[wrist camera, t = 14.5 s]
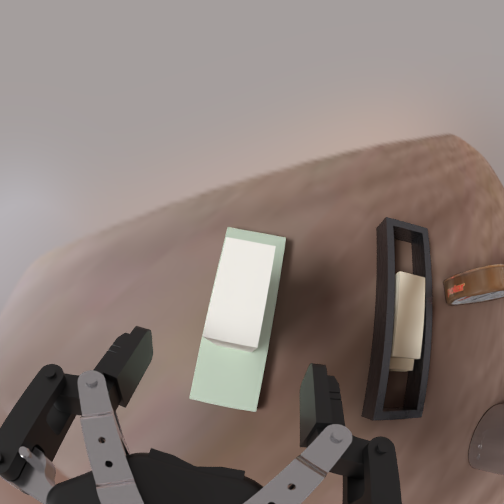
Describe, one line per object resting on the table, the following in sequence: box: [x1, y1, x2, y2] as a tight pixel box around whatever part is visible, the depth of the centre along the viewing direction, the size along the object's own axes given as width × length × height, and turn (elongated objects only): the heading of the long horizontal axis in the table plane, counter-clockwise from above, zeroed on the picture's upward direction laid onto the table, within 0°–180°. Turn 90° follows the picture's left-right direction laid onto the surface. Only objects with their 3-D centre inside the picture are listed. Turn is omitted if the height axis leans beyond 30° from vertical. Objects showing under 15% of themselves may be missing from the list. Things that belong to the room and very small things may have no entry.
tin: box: [443, 264, 504, 305], centre depth 22 cm, size 15×3×8 cm, turn 89°
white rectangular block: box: [203, 237, 276, 353], centre depth 19 cm, size 3×6×8 cm, turn 169°
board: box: [190, 227, 286, 412], centre depth 24 cm, size 6×16×1 cm, turn 170°
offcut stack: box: [389, 271, 425, 372], centre depth 23 cm, size 3×10×3 cm, turn 167°
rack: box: [362, 217, 432, 420], centre depth 23 cm, size 6×20×2 cm, turn 170°
